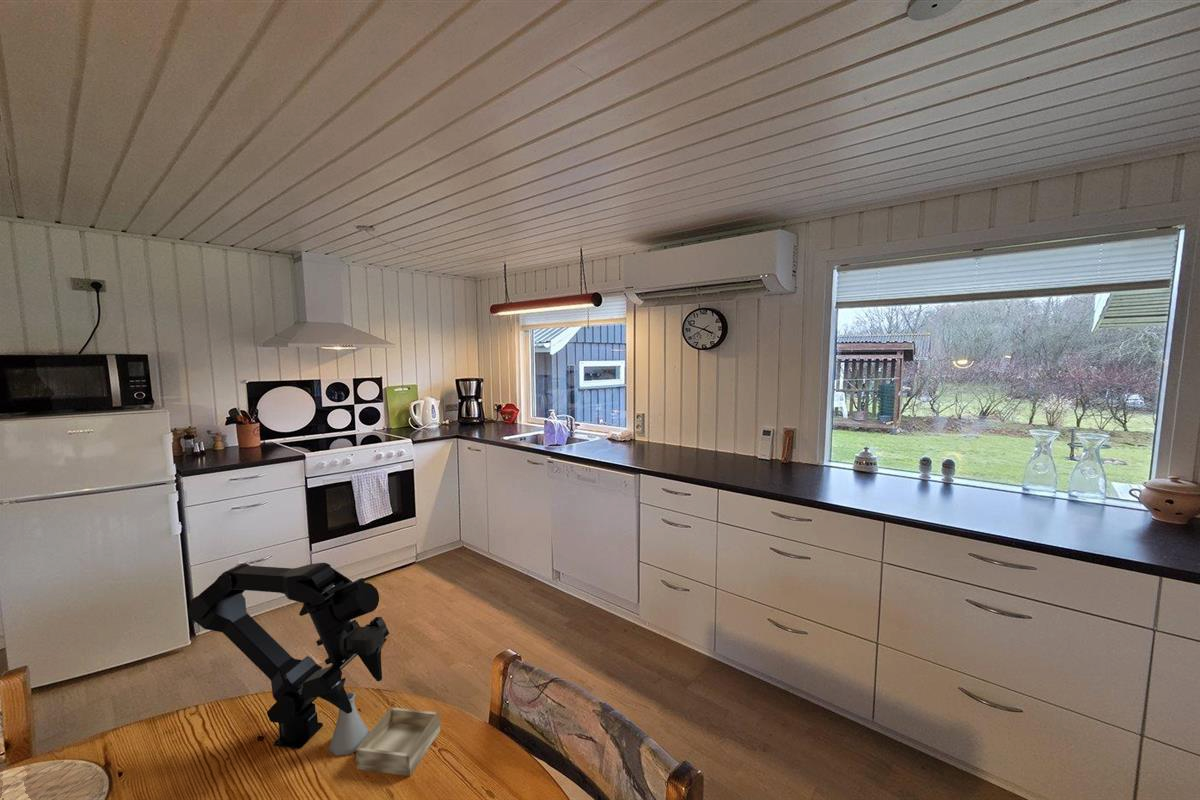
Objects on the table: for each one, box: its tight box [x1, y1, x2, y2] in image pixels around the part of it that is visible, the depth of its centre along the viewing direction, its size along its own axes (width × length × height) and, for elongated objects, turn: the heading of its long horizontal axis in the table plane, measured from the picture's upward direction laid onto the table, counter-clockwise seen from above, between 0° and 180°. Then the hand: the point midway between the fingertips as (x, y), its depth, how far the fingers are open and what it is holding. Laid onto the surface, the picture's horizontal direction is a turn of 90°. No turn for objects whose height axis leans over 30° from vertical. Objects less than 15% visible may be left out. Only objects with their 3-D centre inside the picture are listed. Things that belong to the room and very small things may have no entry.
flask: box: [328, 691, 371, 756], centre depth 98 cm, size 7×7×10 cm
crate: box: [355, 706, 441, 777], centre depth 96 cm, size 11×11×4 cm
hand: (365, 695), depth 97 cm, fingers open, 9 cm apart
